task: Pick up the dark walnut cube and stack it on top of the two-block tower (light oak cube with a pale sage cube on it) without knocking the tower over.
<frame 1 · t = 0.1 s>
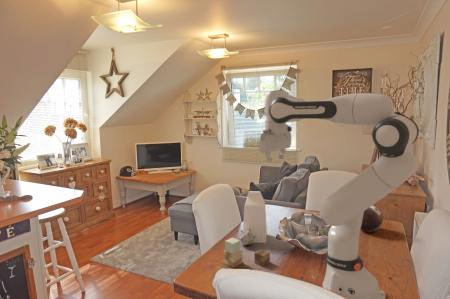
hand: (275, 160, 140), 48 cm above the table, fingers open, 8 cm apart
walnut block: (262, 262, 148), on the table
wooden sphere: (367, 231, 182), on the table
milk: (255, 238, 175), on the table
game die: (246, 245, 167), on the table
oak base block: (233, 263, 148), on the table, touching sage block
sage block: (232, 250, 147), point 6 cm above the table, touching oak base block
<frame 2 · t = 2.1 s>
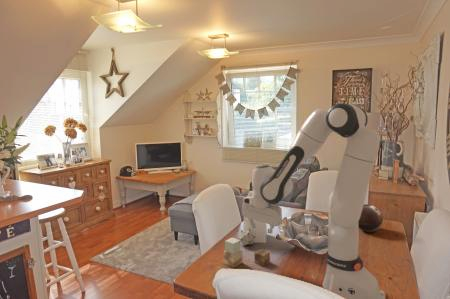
hand: (261, 230, 146), 15 cm above the table, fingers open, 8 cm apart
nothing on the table moved.
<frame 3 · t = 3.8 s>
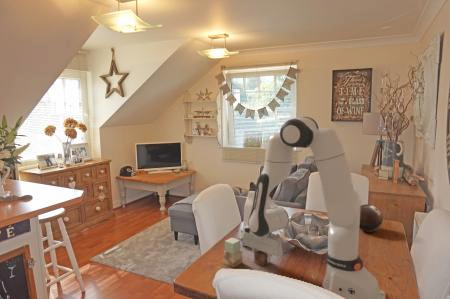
hand: (262, 259, 148), 2 cm above the table, fingers closed on walnut block, 5 cm apart
walnut block: (262, 262, 148), on the table, touching gripper
everything else where it was.
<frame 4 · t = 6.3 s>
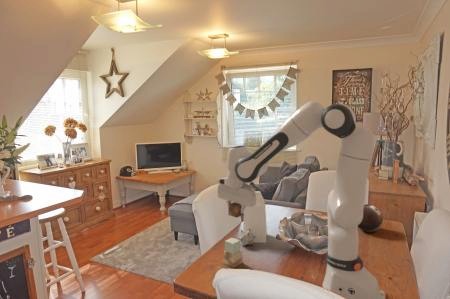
hand: (236, 211, 145), 24 cm above the table, fingers closed on walnut block, 5 cm apart
walnut block: (236, 214, 145), point 23 cm above the table, touching gripper
everything else where it was.
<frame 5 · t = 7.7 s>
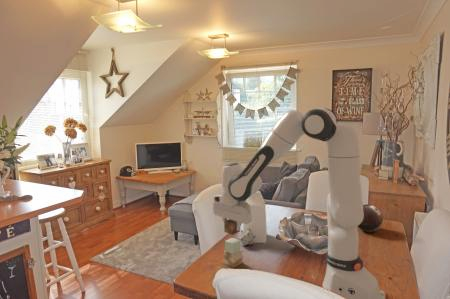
hand: (232, 228, 146), 17 cm above the table, fingers closed on walnut block, 5 cm apart
walnut block: (232, 231, 146), point 15 cm above the table, touching gripper
everything else where it was.
when the fingers open (13 cm above the table, at t = 8.7 s): walnut block stays where it is, resting on sage block.
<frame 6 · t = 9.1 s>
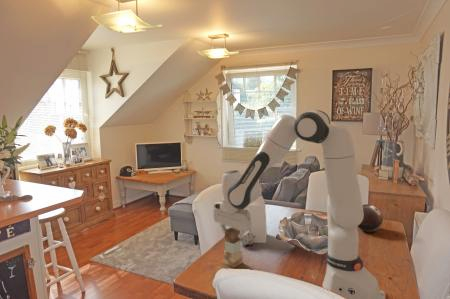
hand: (232, 235, 146), 13 cm above the table, fingers open, 8 cm apart
walnut block: (232, 240, 146), point 11 cm above the table, touching sage block
sage block: (232, 251, 147), point 6 cm above the table, touching oak base block, walnut block
everything else where it was.
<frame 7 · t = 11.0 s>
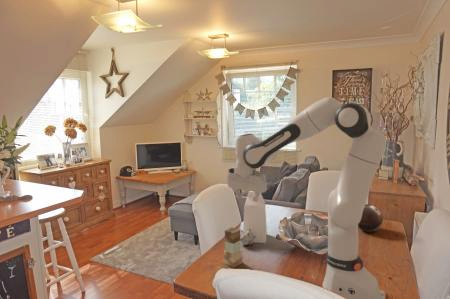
hand: (247, 199, 147), 29 cm above the table, fingers open, 8 cm apart
nothing on the table moved.
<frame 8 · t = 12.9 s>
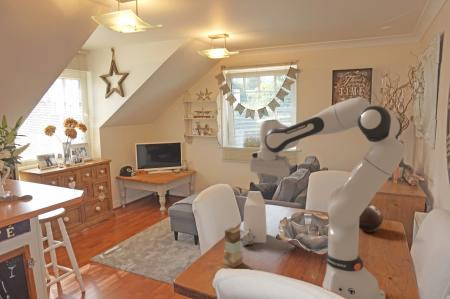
hand: (269, 183, 151), 35 cm above the table, fingers open, 8 cm apart
nothing on the table moved.
at the end: walnut block 0.1 cm off-centre on the oak base block, point 11.0 cm above the oak base block's base; walnut block tilted 0°; sage block point 5.9 cm above the table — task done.
